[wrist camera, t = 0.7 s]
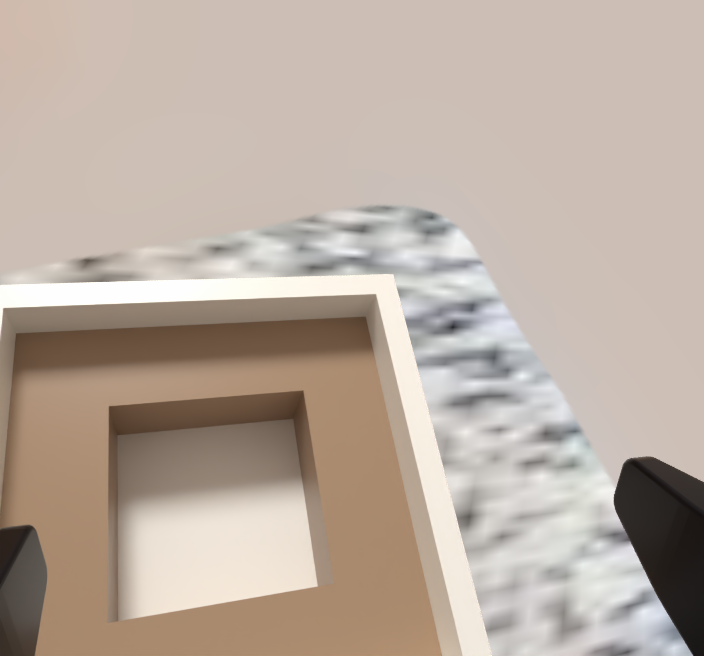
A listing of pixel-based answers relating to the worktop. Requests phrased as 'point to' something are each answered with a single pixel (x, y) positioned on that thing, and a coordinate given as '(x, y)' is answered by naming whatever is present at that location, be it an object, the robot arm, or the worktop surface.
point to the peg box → (230, 470)
